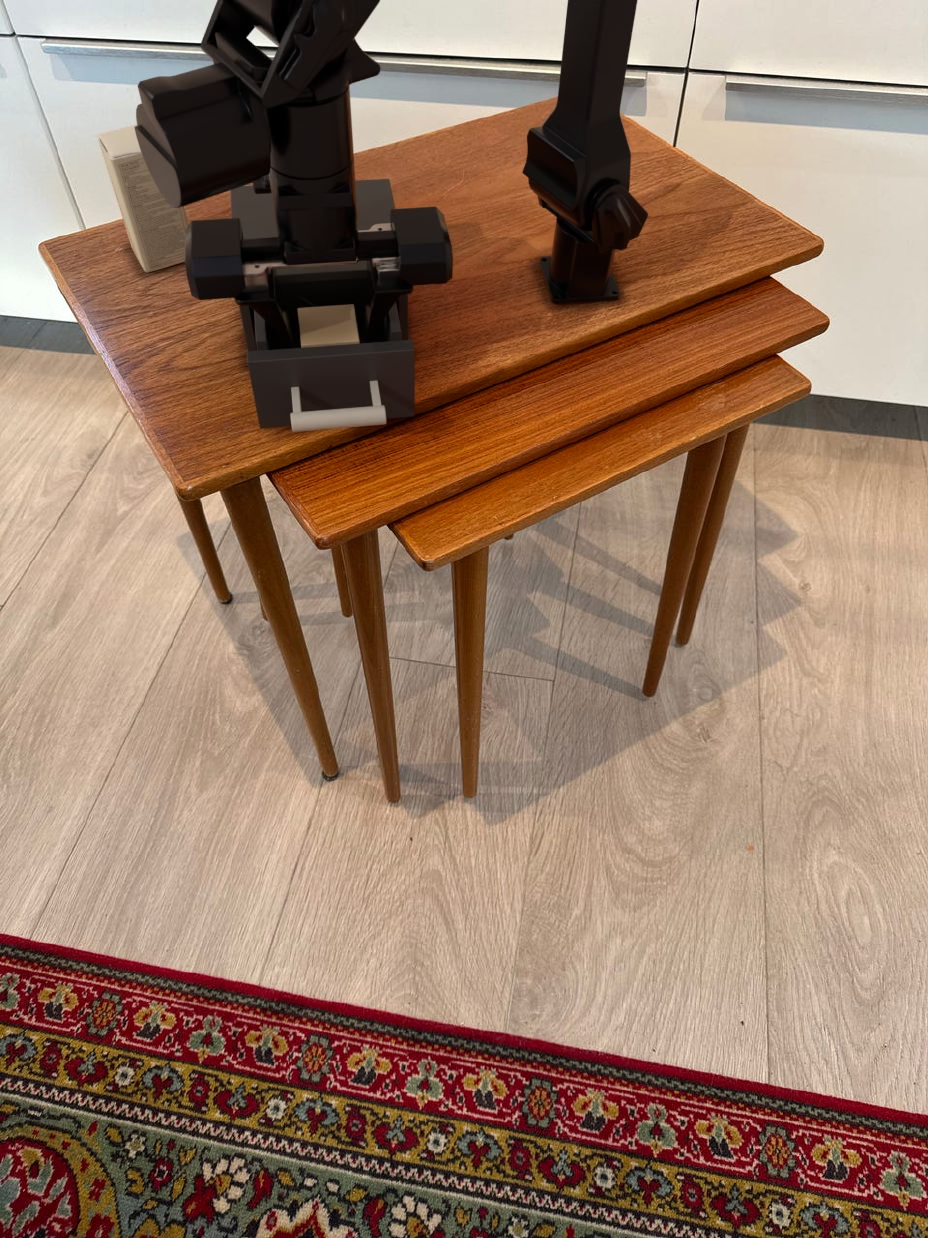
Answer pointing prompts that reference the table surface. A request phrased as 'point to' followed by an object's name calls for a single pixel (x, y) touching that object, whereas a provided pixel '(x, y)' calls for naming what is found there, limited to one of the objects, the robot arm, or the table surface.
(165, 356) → the table surface
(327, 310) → the block
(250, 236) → the cabinet
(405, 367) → the drawer
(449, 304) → the table surface
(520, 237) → the table surface
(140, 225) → the box
